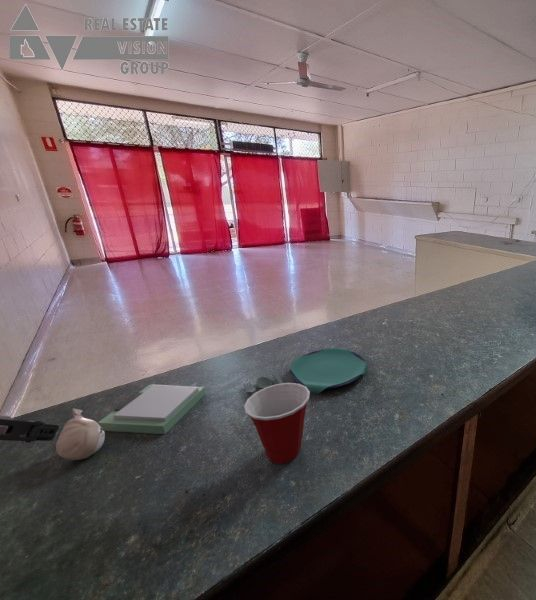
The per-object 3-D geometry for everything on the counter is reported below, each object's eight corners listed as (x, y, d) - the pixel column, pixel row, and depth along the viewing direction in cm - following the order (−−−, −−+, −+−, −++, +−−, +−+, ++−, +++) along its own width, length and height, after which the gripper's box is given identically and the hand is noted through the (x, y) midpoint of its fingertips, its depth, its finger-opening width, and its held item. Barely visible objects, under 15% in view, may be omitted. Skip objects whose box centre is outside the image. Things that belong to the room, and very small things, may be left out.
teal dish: (380, 376, 84) (381, 368, 83) (264, 424, 65) (263, 415, 65) (342, 348, 98) (342, 341, 97) (238, 380, 80) (237, 373, 79)
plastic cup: (296, 422, 66) (292, 373, 62) (324, 452, 59) (321, 398, 55) (242, 449, 59) (234, 395, 55) (267, 487, 52) (258, 427, 48)
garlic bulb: (118, 438, 60) (106, 403, 58) (93, 465, 54) (79, 428, 52) (78, 441, 59) (65, 406, 57) (48, 470, 53) (32, 431, 51)
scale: (100, 430, 62) (96, 419, 61) (151, 391, 74) (148, 381, 74) (165, 434, 62) (162, 422, 61) (205, 394, 74) (203, 384, 73)
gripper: (-48, 388, 35) (84, 408, 49) (-172, 382, 35) (-4, 403, 50) (-99, 465, 31) (59, 461, 46) (-235, 457, 32) (-35, 456, 46)
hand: (26, 431), depth 48 cm, fingers open, 8 cm apart
